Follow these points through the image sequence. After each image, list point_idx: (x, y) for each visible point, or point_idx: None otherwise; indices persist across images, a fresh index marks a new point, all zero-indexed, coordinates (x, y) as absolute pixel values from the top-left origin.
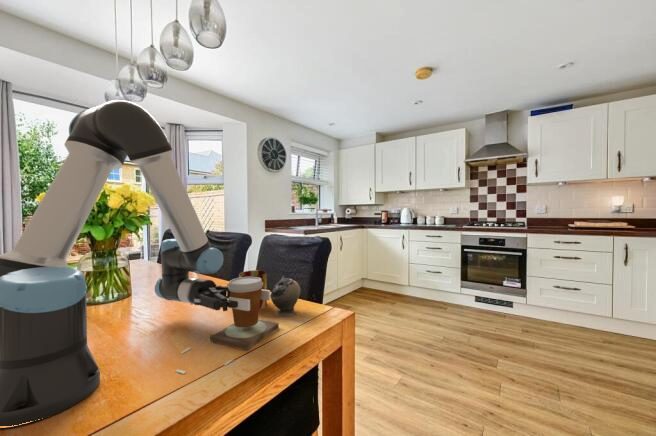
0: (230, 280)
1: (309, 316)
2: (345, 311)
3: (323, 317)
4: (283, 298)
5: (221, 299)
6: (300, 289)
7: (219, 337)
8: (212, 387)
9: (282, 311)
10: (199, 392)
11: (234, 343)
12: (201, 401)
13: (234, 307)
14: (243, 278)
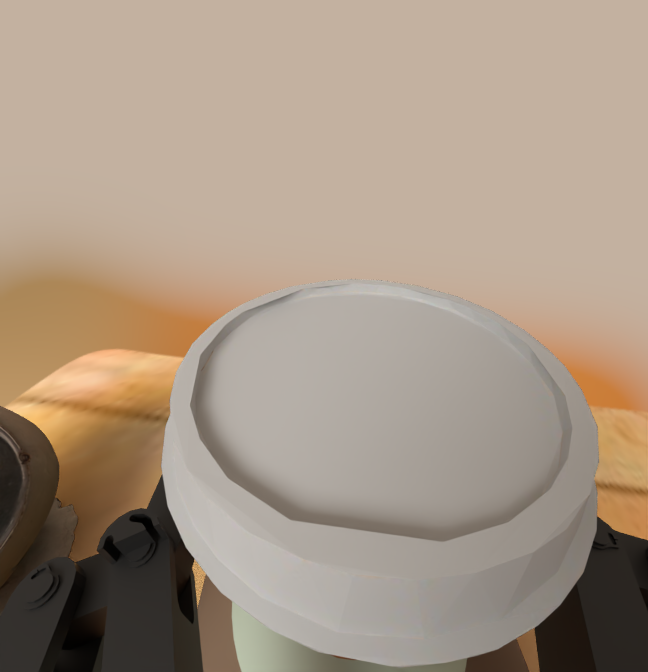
0: (542, 538)
1: (104, 432)
2: (74, 361)
3: (123, 391)
4: (46, 470)
5: (629, 590)
6: None
7: (518, 662)
8: (600, 429)
9: (17, 571)
10: (639, 440)
11: None
12: (633, 415)
13: None
14: (235, 482)
